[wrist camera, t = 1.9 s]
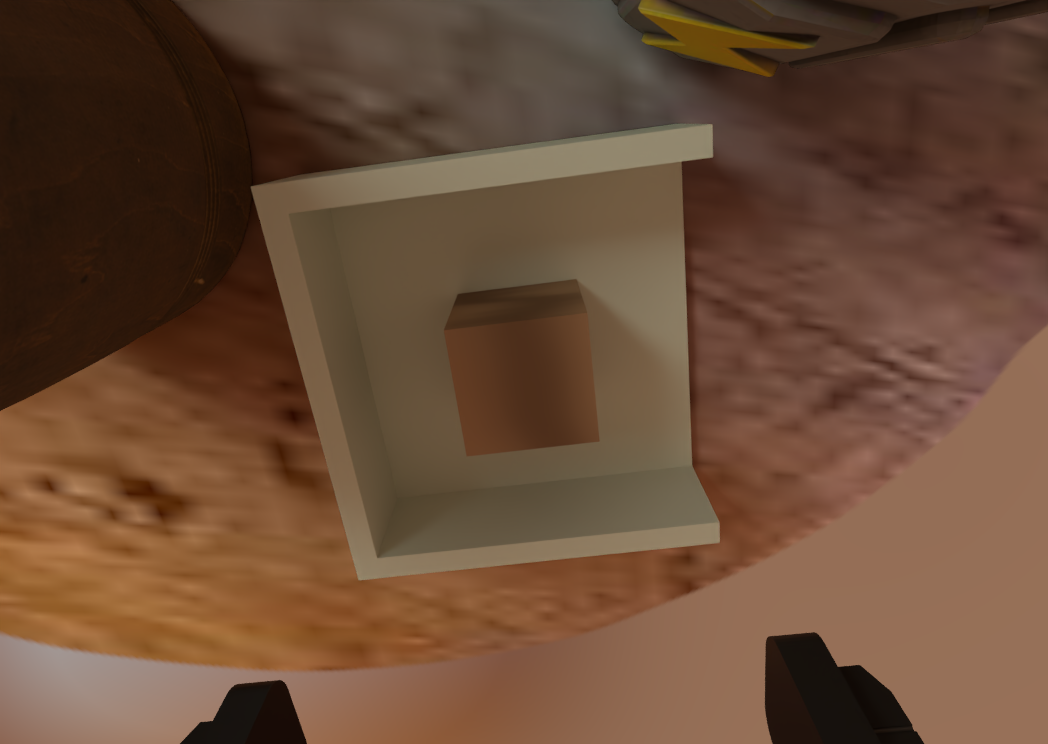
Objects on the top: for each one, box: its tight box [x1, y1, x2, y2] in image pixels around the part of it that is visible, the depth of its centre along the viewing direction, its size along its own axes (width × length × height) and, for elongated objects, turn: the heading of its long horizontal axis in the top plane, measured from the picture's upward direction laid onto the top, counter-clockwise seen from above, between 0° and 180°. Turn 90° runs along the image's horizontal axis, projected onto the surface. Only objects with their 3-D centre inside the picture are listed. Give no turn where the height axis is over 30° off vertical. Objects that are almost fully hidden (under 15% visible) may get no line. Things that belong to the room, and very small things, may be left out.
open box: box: [251, 123, 720, 580], centre depth 26 cm, size 15×16×5 cm
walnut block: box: [444, 279, 600, 456], centre depth 25 cm, size 5×5×5 cm
